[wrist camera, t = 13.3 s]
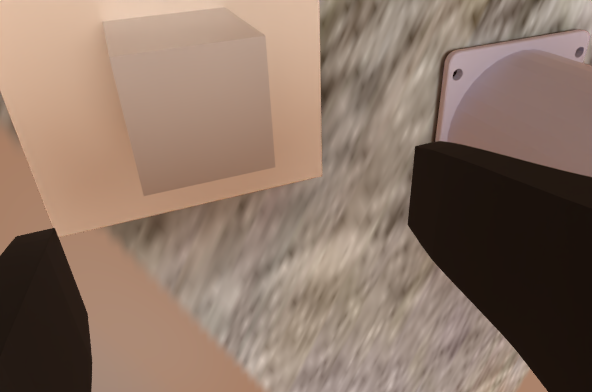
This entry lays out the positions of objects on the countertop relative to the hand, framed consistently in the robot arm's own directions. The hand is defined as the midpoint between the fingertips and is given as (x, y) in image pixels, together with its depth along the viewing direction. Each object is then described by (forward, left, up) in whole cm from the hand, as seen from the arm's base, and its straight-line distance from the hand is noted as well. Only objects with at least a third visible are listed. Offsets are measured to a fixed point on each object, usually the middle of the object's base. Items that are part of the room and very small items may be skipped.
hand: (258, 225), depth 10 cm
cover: (0, 0, -11) cm, 11 cm away
